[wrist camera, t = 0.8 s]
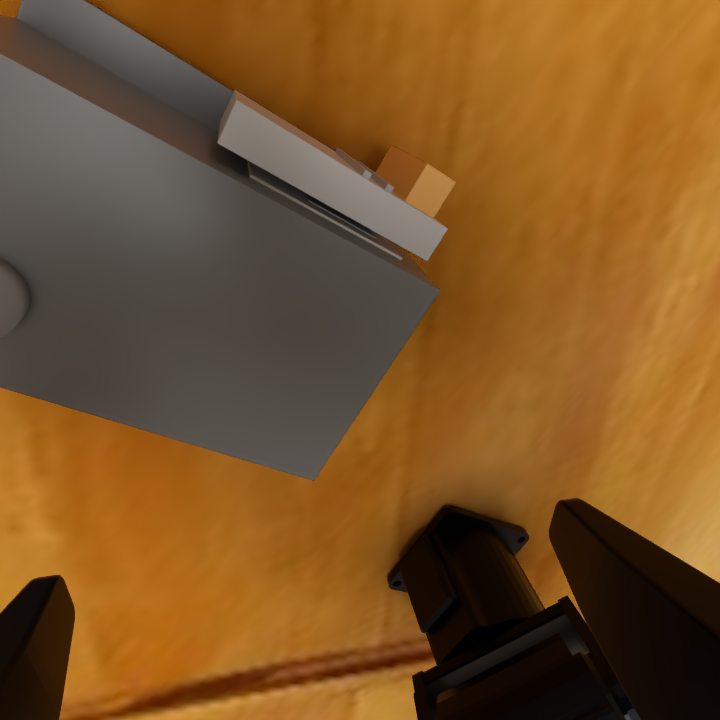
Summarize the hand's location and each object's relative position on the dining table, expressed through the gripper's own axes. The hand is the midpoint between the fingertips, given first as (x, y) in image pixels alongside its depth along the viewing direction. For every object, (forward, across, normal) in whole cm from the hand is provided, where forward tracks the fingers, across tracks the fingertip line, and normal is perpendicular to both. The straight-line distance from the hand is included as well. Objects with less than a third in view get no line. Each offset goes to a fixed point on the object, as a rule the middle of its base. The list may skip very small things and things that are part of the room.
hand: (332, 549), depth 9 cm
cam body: (+12, +3, -3) cm, 13 cm away
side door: (+11, -2, -6) cm, 13 cm away
